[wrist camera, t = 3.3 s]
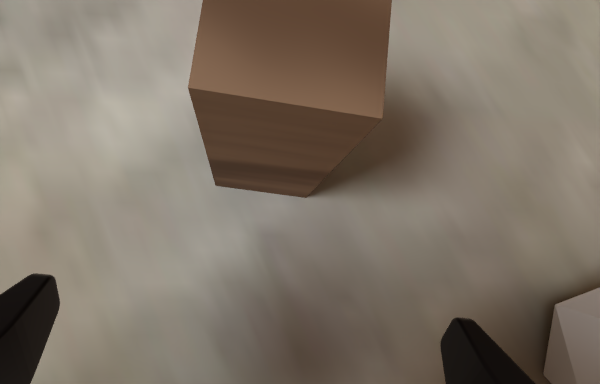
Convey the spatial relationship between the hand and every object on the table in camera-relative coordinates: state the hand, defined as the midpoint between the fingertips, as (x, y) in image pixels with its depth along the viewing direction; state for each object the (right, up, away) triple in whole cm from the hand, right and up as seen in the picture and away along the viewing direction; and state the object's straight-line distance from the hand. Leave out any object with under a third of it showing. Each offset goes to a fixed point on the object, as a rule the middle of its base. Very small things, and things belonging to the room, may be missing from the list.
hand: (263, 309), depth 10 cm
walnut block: (-1, +5, +14) cm, 15 cm away
